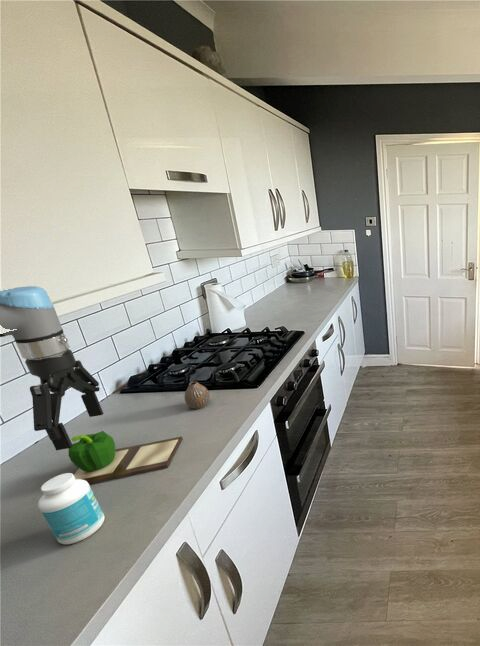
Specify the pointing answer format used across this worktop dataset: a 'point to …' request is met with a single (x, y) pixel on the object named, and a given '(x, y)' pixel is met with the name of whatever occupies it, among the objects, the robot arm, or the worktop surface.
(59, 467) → the worktop surface
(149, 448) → the board
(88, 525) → the pill bottle
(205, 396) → the brown rounded bulb
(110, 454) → the bell pepper
